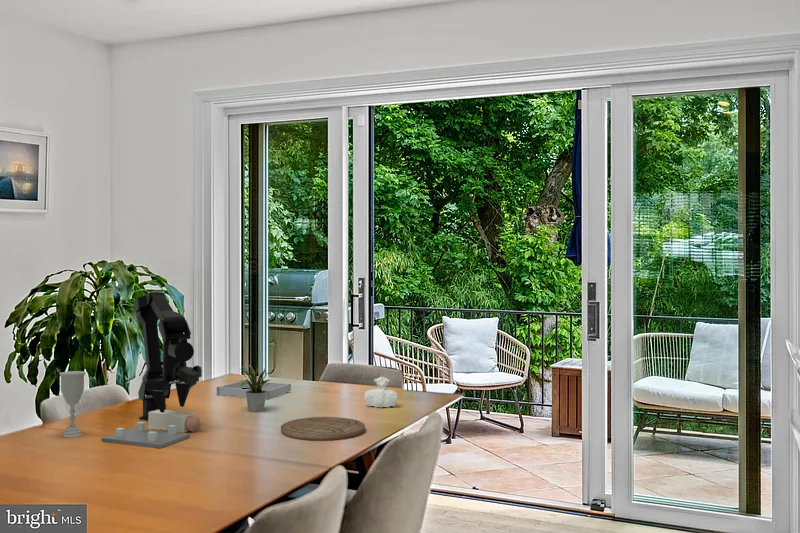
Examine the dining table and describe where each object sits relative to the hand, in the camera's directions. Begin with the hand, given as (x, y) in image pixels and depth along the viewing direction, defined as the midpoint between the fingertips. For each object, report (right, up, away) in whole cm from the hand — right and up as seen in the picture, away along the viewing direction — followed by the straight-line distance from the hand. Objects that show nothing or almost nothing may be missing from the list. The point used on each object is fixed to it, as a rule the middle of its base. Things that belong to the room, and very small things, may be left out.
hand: (172, 409), depth 223 cm
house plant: (+18, -6, +28) cm, 34 cm away
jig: (-3, -6, -14) cm, 15 cm away
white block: (0, -6, 0) cm, 6 cm away
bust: (+62, -6, +36) cm, 72 cm away
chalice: (-26, -6, -9) cm, 28 cm away
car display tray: (+13, -5, +59) cm, 61 cm away
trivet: (+46, -7, -1) cm, 46 cm away
